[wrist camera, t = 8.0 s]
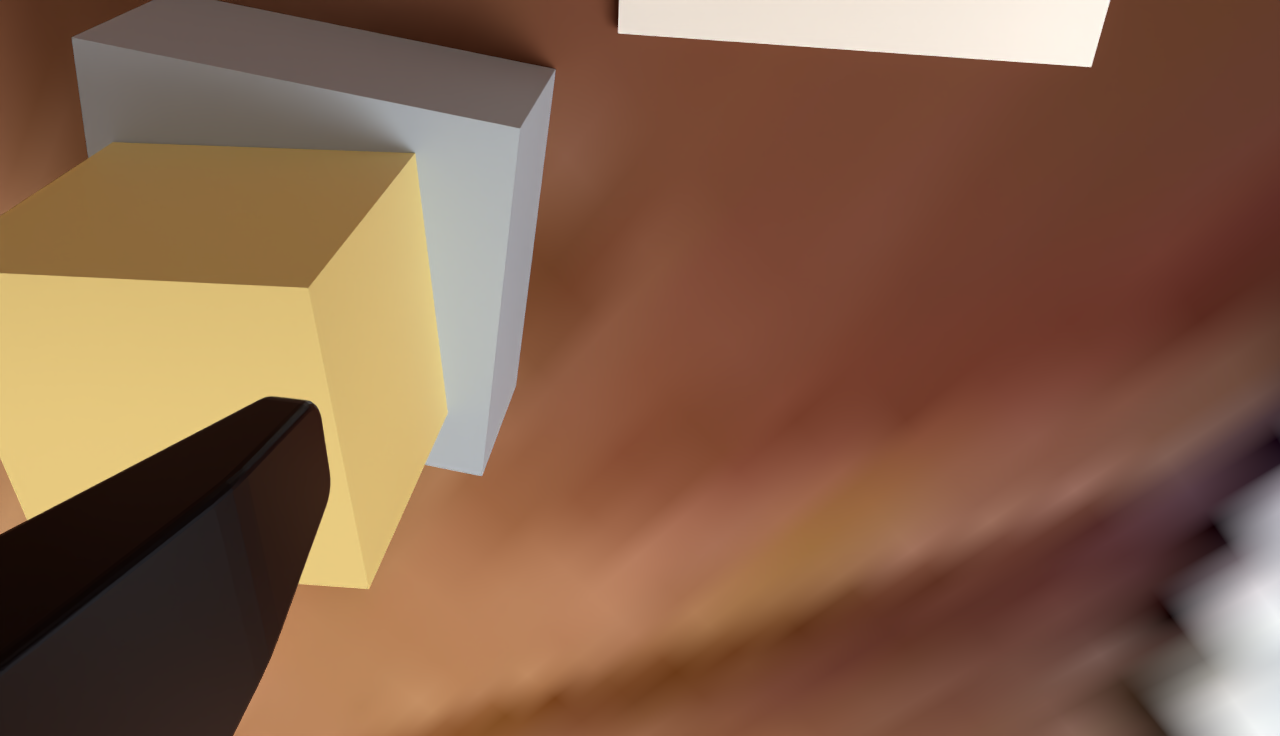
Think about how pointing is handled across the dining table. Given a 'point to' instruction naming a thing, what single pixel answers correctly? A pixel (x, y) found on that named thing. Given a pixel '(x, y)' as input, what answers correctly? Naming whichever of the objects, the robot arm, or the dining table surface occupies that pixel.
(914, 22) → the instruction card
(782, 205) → the dining table surface
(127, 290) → the mustard block
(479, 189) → the base block
